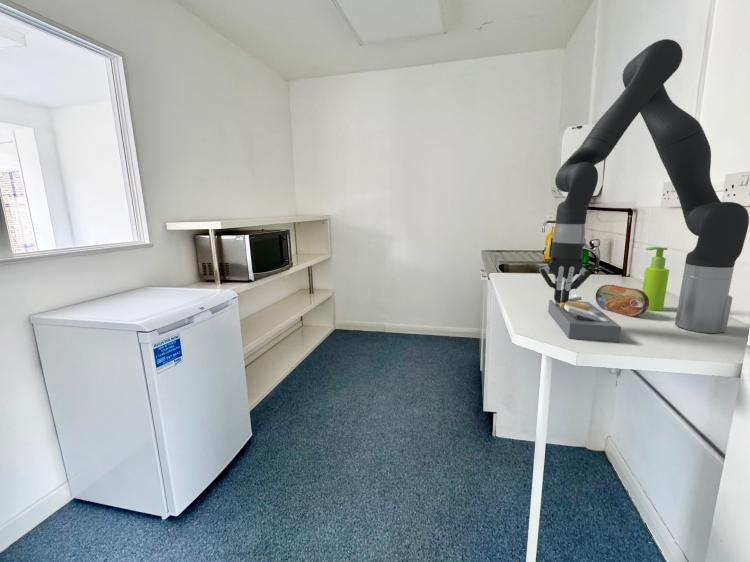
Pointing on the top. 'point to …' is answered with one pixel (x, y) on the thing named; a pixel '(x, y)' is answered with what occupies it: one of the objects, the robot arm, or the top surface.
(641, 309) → the tin
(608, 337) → the rocker switch panel
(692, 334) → the top surface
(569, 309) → the rocker
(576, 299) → the rocker
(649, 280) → the soap dispenser
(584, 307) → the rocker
